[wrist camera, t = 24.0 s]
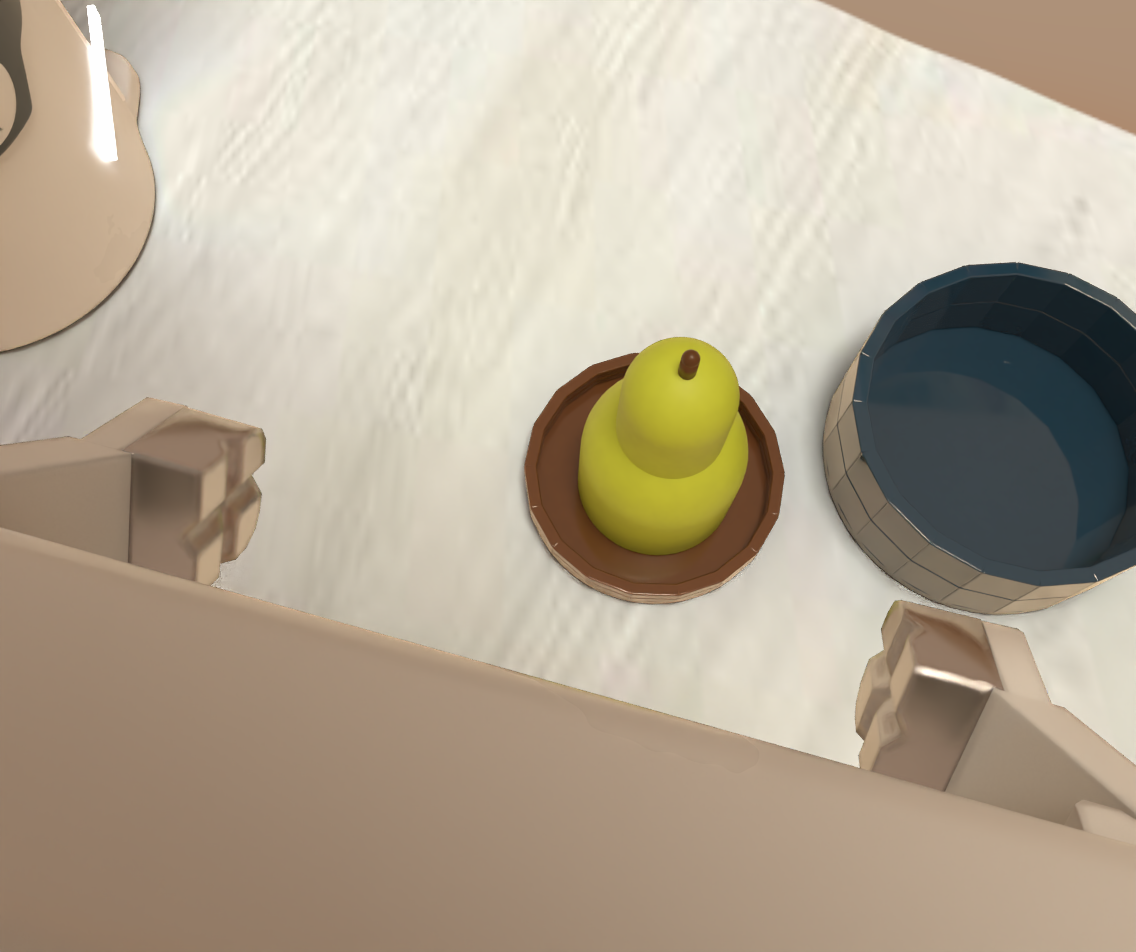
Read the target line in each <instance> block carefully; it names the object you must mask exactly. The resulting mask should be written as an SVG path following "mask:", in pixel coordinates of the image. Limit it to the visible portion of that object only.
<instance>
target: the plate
mask: <svg viewBox="0 0 1136 952" xmlns="http://www.w3.org/2000/svg"><path fill="white" fill-rule="evenodd" d="M638 354H639V353H633V354H632V353H631V354H628V355H624V356H621V357H617V358H614V359H611V360H607V361H604V362H601V363H597V364H594V365H592V366H590V367H588V368H587V369H585V370H584V371H583V372H581V373H580V374H579V375H577V376H576V377H574V378H573V379H572V380H570V381H569V382H567V383H566V384H565V385H563V386H562V387H560V388H559V389H558V390H557V391H556V392H555V394H554V395H553V397H552V398H551V399H550V401H549V402H548V404H547V405H546V407H545V408H544V410H543V411H542V413H541V414H540V416H539V417H538V419H537V420H536V422H535V423H534V426H533V429H532V433H531V438H530V442H529V446H528V451H527V455H526V460H525V464H524V474H525V482H526V489H527V496H528V502H529V509H530V515H531V518H532V520H533V522H534V524H535V526H536V528H537V530H538V533H539V535H540V537H541V539H542V540H543V542H544V543H545V545H546V546H547V548H548V549H549V551H550V552H551V554H552V555H553V556H554V557H555V558H556V559H557V561H558V562H559V563H560V564H561V565H562V566H563V567H564V568H565V569H566V570H568V571H569V572H570V573H571V574H572V575H573V576H575V577H576V578H577V579H579V580H580V581H582V582H583V583H585V584H586V585H588V586H590V587H592V588H594V589H596V590H598V591H599V592H601V593H604V594H607V595H609V596H612V597H615V598H618V599H622V600H626V601H631V602H636V603H647V604H664V603H674V602H680V601H685V600H689V599H692V598H695V597H699V596H702V595H704V594H706V593H708V592H710V591H712V590H715V589H717V588H718V587H721V586H722V585H723V584H725V583H726V582H728V581H729V580H731V579H732V578H733V577H734V576H735V575H737V574H738V573H739V572H740V571H741V570H742V569H743V568H744V567H745V566H747V565H748V564H749V563H750V562H752V560H753V559H754V558H755V557H756V555H757V554H758V552H759V550H760V549H761V547H762V545H763V543H764V542H765V540H766V538H767V536H768V535H769V533H770V531H771V529H772V528H773V526H774V524H775V522H776V521H777V519H778V516H779V512H780V505H781V498H782V491H783V484H784V477H785V475H784V473H785V472H784V468H783V463H782V459H781V455H780V450H779V446H778V442H777V437H776V433H774V432H775V431H774V430H773V428H772V426H771V425H770V423H769V422H768V420H767V419H766V417H765V416H764V414H763V413H762V411H761V410H760V408H759V406H758V405H757V403H756V402H755V400H754V399H753V397H751V395H750V394H748V393H747V392H746V391H745V390H743V389H742V388H741V387H740V386H739V393H740V399H739V407H738V412H739V414H740V416H741V419H742V421H743V424H744V426H745V430H746V434H747V441H748V463H747V468H746V472H745V475H744V478H743V481H742V484H741V486H740V488H739V490H738V492H737V494H736V496H735V498H734V500H733V502H732V504H731V506H730V508H729V510H728V511H727V513H726V515H725V517H724V519H723V521H722V522H721V524H720V525H719V526H718V528H717V529H716V530H715V531H714V532H713V533H712V534H711V535H710V536H709V537H708V538H707V539H705V540H704V541H703V542H701V543H699V544H698V545H696V546H694V547H692V548H690V549H688V550H685V551H682V552H679V553H674V554H668V555H648V554H642V553H637V552H634V551H631V550H628V549H625V548H623V547H621V546H619V545H617V544H615V543H614V542H613V541H611V540H610V539H608V538H607V537H606V536H605V535H603V534H602V533H601V532H600V531H599V530H598V529H597V528H596V526H595V525H594V524H593V523H592V521H591V520H590V518H589V517H588V515H587V513H586V511H585V509H584V507H583V505H582V502H581V499H580V494H579V489H578V469H579V458H580V447H581V438H582V434H583V430H584V426H585V423H586V420H587V418H588V415H589V414H590V412H591V410H592V408H593V407H594V405H595V404H596V403H597V401H598V400H599V399H600V397H601V396H602V395H603V394H604V393H605V392H606V391H607V390H608V389H609V388H610V387H612V386H613V385H614V384H616V383H617V382H618V381H620V380H622V379H624V376H625V374H626V371H627V369H628V368H629V366H630V364H631V363H632V361H633V360H634V359H635V358H636V356H637V355H638Z"/></svg>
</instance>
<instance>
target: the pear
mask: <svg viewBox="0 0 1136 952" xmlns="http://www.w3.org/2000/svg"><path fill="white" fill-rule="evenodd" d="M739 399H740V393H739V384H738V380H737V377H736V374H735V372H734V370H733V368H732V366H731V364H730V363H729V361H728V360H727V359H726V357H725V356H724V355H723V354H722V353H721V352H719V351H718V350H717V349H716V348H714V347H713V346H711V345H709V344H708V343H705V342H703V341H701V340H698V339H694V338H688V337H674V338H667V339H664V340H660V341H658V342H656V343H654V344H652V345H650V346H648V347H647V348H646V349H644V350H643V351H642V352H640V353H639V354H638V355H637V356H636V358H635V359H634V360H633V361H632V363H631V364H630V366H629V368H628V369H627V371H626V374H625V376H624V379H622V380H620V381H618V382H617V383H616V384H614V385H613V386H612V387H610V388H609V389H608V390H607V391H606V392H605V393H604V394H603V395H602V396H601V397H600V399H599V400H598V401H597V403H596V404H595V405H594V407H593V408H592V410H591V412H590V414H589V415H588V418H587V420H586V423H585V426H584V430H583V434H582V438H581V447H580V458H579V469H578V489H579V494H580V499H581V502H582V505H583V507H584V509H585V511H586V513H587V515H588V517H589V518H590V520H591V521H592V523H593V524H594V525H595V526H596V528H597V529H598V530H599V531H600V532H601V533H602V534H603V535H605V536H606V537H607V538H608V539H610V540H611V541H613V542H614V543H615V544H617V545H619V546H621V547H623V548H625V549H628V550H631V551H634V552H637V553H642V554H648V555H668V554H674V553H679V552H682V551H685V550H688V549H690V548H692V547H694V546H696V545H698V544H699V543H701V542H703V541H704V540H705V539H707V538H708V537H709V536H710V535H711V534H712V533H713V532H714V531H715V530H716V529H717V528H718V526H719V525H720V524H721V522H722V521H723V519H724V517H725V515H726V513H727V511H728V510H729V508H730V506H731V504H732V502H733V500H734V498H735V496H736V494H737V492H738V490H739V488H740V486H741V484H742V481H743V478H744V475H745V472H746V468H747V463H748V441H747V434H746V430H745V426H744V424H743V421H742V419H741V416H740V414H739V412H738V407H739Z"/></svg>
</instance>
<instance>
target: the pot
mask: <svg viewBox="0 0 1136 952" xmlns="http://www.w3.org/2000/svg"><path fill="white" fill-rule="evenodd" d="M823 460H824V468H825V475H826V479H827V483H828V486H829V490H830V494H831V497H832V499H833V501H834V504H835V506H836V509H837V511H838V513H839V515H840V517H841V519H842V520H843V522H844V524H845V526H846V527H847V529H848V531H849V532H850V534H851V535H852V536H853V538H854V539H855V541H856V542H857V543H858V545H859V546H860V547H861V549H862V550H863V551H864V552H865V553H866V554H867V555H868V556H869V557H870V558H871V559H872V560H873V561H874V562H875V563H876V564H877V565H878V566H879V567H880V568H881V569H883V570H884V571H885V572H886V573H887V574H889V575H890V576H891V577H892V578H893V579H895V580H896V581H898V582H900V583H901V584H903V585H904V586H906V587H907V588H909V589H910V590H912V591H914V592H916V593H918V594H920V595H922V596H924V597H926V598H928V599H930V600H932V601H935V602H938V603H941V604H943V605H946V606H949V607H952V608H956V609H960V610H965V611H969V612H974V613H984V614H995V615H999V614H1019V613H1025V612H1031V611H1036V610H1042V609H1046V608H1048V607H1051V606H1053V605H1056V604H1058V603H1060V602H1062V601H1064V600H1067V599H1069V598H1071V597H1074V596H1076V595H1078V594H1081V593H1083V592H1085V591H1087V590H1089V589H1091V588H1093V587H1095V586H1097V585H1099V584H1101V583H1103V582H1105V581H1107V580H1109V579H1111V578H1113V577H1115V576H1117V575H1119V574H1121V573H1123V572H1125V571H1127V570H1129V569H1131V568H1133V567H1135V566H1136V313H1134V312H1133V311H1132V310H1131V309H1130V308H1129V307H1128V306H1126V305H1125V304H1124V303H1123V302H1122V301H1121V300H1120V299H1117V297H1115V296H1113V295H1111V294H1109V293H1107V292H1106V291H1104V290H1102V289H1100V288H1098V287H1096V286H1094V285H1092V284H1090V283H1088V282H1086V281H1084V280H1082V279H1080V278H1078V277H1076V276H1074V275H1072V274H1068V273H1065V272H1061V271H1056V270H1051V269H1047V268H1042V267H1037V266H1033V265H1028V264H1023V263H1016V262H1010V263H994V264H977V265H967V266H962V267H960V268H957V269H954V270H952V271H949V272H946V273H944V274H941V275H938V276H936V277H933V278H930V279H928V280H925V281H922V282H921V283H918V284H917V285H916V286H915V287H913V288H912V289H911V290H910V291H909V292H907V293H906V294H905V295H904V296H902V297H901V298H900V299H899V300H898V301H896V302H895V303H894V304H893V305H892V306H890V307H889V308H888V309H887V310H886V311H884V313H883V314H882V315H881V317H880V318H879V320H878V322H877V323H876V325H875V327H874V328H873V330H872V331H871V333H870V335H869V336H868V338H867V340H866V341H865V343H864V344H863V346H862V348H861V349H860V351H859V353H858V354H857V356H856V357H855V359H854V361H853V362H852V364H851V366H850V367H849V369H848V371H847V373H846V374H845V376H844V378H843V380H842V381H841V383H840V385H839V386H838V388H837V390H836V392H835V394H834V395H833V397H832V400H831V404H830V407H829V411H828V414H827V417H826V422H825V429H824V435H823Z"/></svg>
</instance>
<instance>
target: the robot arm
mask: <svg viewBox="0 0 1136 952" xmlns="http://www.w3.org/2000/svg"><path fill="white" fill-rule="evenodd" d="M87 11H88V19H89V28H90V37H91V44H89V43H88V41H87V40H86V38H85V37H84V35H83V34H82V32H81V31H80V29H79V28H78V26H77V25H76V24H75V22H74V21H73V19H72V18H71V16H70V15H69V13H68V12H67V10H66V9H65V7H64V6H63V4H62V3H61V1H60V0H0V352H1V351H6V350H10V349H14V348H17V347H21V346H24V345H27V344H30V343H33V342H36V341H38V340H41V339H43V338H45V337H48V336H50V335H52V334H54V333H56V332H58V331H60V330H62V329H64V328H65V327H67V326H69V325H71V324H72V323H74V322H75V321H77V320H78V319H80V318H82V317H83V316H84V315H86V314H87V313H88V312H90V311H91V310H92V309H93V308H95V307H96V306H97V305H98V304H99V303H101V302H102V301H103V300H104V299H105V298H106V297H107V296H108V295H109V294H110V293H111V292H112V291H113V290H114V289H115V288H116V287H117V285H118V284H119V283H120V282H121V281H122V279H123V278H124V277H125V276H126V274H127V273H128V271H129V270H130V269H131V267H132V266H133V264H134V262H135V261H136V259H137V257H138V255H139V253H140V252H141V250H142V248H143V245H144V243H145V241H146V238H147V235H148V232H149V229H150V226H151V222H152V218H153V212H154V205H155V183H154V175H153V170H152V166H151V162H150V159H149V156H148V154H147V151H146V149H145V146H144V144H143V142H142V139H141V137H140V134H139V130H138V126H137V115H138V107H139V99H140V82H139V77H138V75H137V73H136V72H135V70H134V69H133V67H132V66H131V65H130V63H129V62H128V60H127V59H126V58H125V57H124V56H122V55H120V54H118V53H116V52H113V51H110V50H107V49H104V45H103V37H102V28H101V20H100V16H99V14H98V12H97V10H96V8H95V6H94V5H90V6H87ZM265 447H266V438H265V435H264V432H263V430H262V429H261V428H258V427H254V426H251V425H247V424H244V423H241V422H237V421H234V420H230V419H227V418H223V417H220V416H216V415H213V414H209V413H206V412H202V411H199V410H195V409H192V408H188V407H187V406H185V405H180V404H176V403H172V402H167V401H163V400H158V399H154V398H149V397H146V398H145V399H143V400H142V401H140V402H139V403H137V404H135V405H134V406H132V407H131V408H129V409H128V410H126V411H124V412H123V413H121V414H120V415H118V416H116V417H115V418H113V419H112V420H110V421H109V422H107V423H105V424H104V425H102V426H101V427H99V428H98V429H96V430H94V431H93V432H91V433H90V434H88V435H86V436H85V437H83V438H82V439H77V438H73V437H70V436H67V437H60V438H52V439H44V440H37V441H29V442H21V443H13V444H6V445H0V952H1136V765H1135V764H1134V763H1132V762H1131V761H1130V760H1129V759H1127V758H1126V757H1125V756H1124V755H1122V754H1121V753H1120V752H1119V751H1117V750H1116V749H1115V748H1114V747H1112V746H1111V745H1110V744H1109V743H1108V742H1106V741H1105V740H1104V739H1103V738H1101V737H1100V736H1099V735H1098V734H1096V733H1095V732H1094V731H1093V730H1091V729H1090V728H1089V727H1088V726H1086V725H1085V724H1084V723H1083V722H1082V721H1080V720H1079V719H1078V718H1077V717H1075V716H1074V715H1073V714H1072V713H1070V712H1069V711H1068V710H1067V709H1065V708H1064V707H1060V706H1057V705H1053V704H1052V703H1051V701H1050V698H1049V696H1048V693H1047V691H1046V688H1045V686H1044V683H1043V681H1042V678H1041V676H1040V673H1039V671H1038V668H1037V666H1036V663H1035V661H1034V658H1033V656H1032V653H1031V651H1030V648H1029V646H1028V643H1027V640H1026V638H1025V635H1024V633H1023V632H1021V631H1020V630H1019V629H1017V628H1012V627H1008V626H1003V625H998V624H994V623H989V622H985V621H981V619H977V618H973V617H969V616H965V615H961V614H957V613H952V612H948V611H944V610H940V609H936V608H932V607H928V606H924V605H920V604H916V603H911V602H907V601H903V600H898V601H894V603H893V605H892V606H891V608H890V610H889V611H888V613H887V616H886V618H885V621H884V623H883V626H882V628H881V633H882V640H883V647H884V650H883V651H881V652H880V653H878V654H877V655H875V656H873V657H872V658H870V659H869V661H868V663H867V666H866V669H865V672H864V674H863V677H862V680H861V683H860V687H859V692H858V696H857V700H856V708H855V726H856V732H857V733H858V735H859V736H860V737H861V738H862V739H863V740H864V743H863V745H862V748H861V750H860V753H859V755H858V756H859V764H860V768H858V767H854V766H851V765H847V764H843V763H840V762H836V761H833V760H829V759H826V758H822V757H818V756H815V755H811V754H808V753H804V752H801V751H797V750H793V749H790V748H786V747H783V746H779V745H776V744H772V743H768V742H765V741H761V740H758V739H754V738H751V737H747V736H743V735H740V734H736V733H733V732H729V731H726V730H722V729H718V728H715V727H711V726H708V725H704V724H701V723H697V722H694V721H690V720H686V719H683V718H679V717H676V716H672V715H669V714H665V713H661V712H658V711H654V710H651V709H647V708H644V707H640V706H637V705H633V704H629V703H626V702H622V701H619V700H615V699H612V698H608V697H604V696H601V695H597V694H594V693H590V692H587V691H583V690H580V689H576V688H572V687H569V686H565V685H562V684H558V683H555V682H551V681H547V680H544V679H540V678H537V677H533V676H530V675H526V674H523V673H519V672H515V671H512V670H508V669H505V668H501V667H498V666H494V665H490V664H487V663H483V662H480V661H476V660H473V659H469V658H466V657H462V656H458V655H455V654H451V653H448V652H444V651H441V650H437V649H433V648H430V647H426V646H423V645H419V644H416V643H412V642H409V641H405V640H401V639H398V638H394V637H391V636H387V635H384V634H380V633H376V632H373V631H369V630H366V629H362V628H359V627H355V626H352V625H348V624H344V623H341V622H337V621H334V620H330V619H327V618H323V617H319V616H316V615H312V614H309V613H305V612H302V611H298V610H295V609H291V608H287V607H284V606H280V605H277V604H273V603H270V602H266V601H262V600H259V599H255V598H252V597H248V596H245V595H241V594H237V593H234V592H230V591H227V590H223V589H220V588H216V587H213V586H211V585H212V584H213V583H214V582H215V581H216V580H217V579H218V578H219V574H220V564H221V563H225V562H228V561H232V560H236V559H237V558H238V556H239V555H240V554H241V553H242V552H243V551H244V550H245V549H246V547H247V545H248V543H249V541H250V539H251V537H252V535H253V533H254V531H255V529H256V525H257V521H258V517H259V513H260V506H261V496H262V493H261V491H260V489H259V487H258V486H257V484H256V482H255V480H254V478H253V476H252V474H253V473H254V472H255V471H256V470H257V469H258V468H259V467H260V466H261V465H263V464H264V463H265Z"/></svg>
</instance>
